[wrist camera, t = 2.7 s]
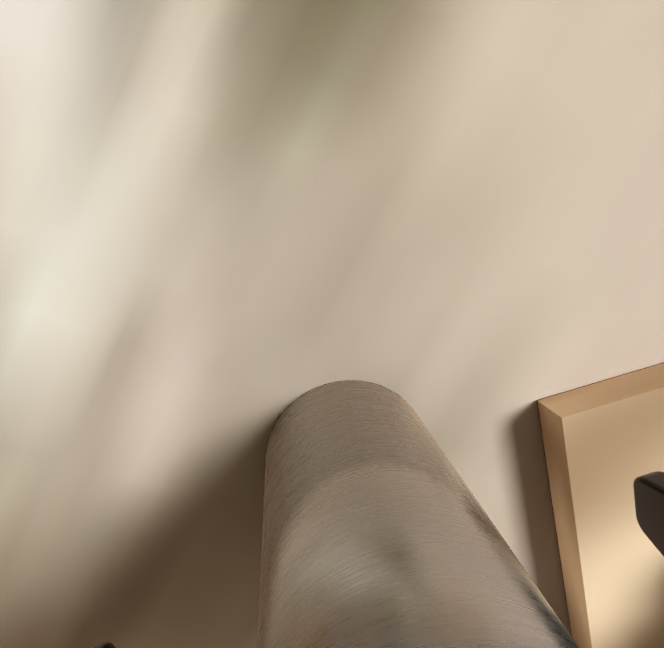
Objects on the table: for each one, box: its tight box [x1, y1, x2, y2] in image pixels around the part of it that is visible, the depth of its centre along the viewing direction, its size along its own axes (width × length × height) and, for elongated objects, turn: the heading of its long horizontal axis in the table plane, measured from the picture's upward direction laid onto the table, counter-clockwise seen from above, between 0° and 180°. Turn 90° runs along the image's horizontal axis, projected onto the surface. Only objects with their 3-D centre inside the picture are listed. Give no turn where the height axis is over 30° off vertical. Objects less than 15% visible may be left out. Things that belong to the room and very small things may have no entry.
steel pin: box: [257, 380, 579, 648], centre depth 6 cm, size 4×4×10 cm
